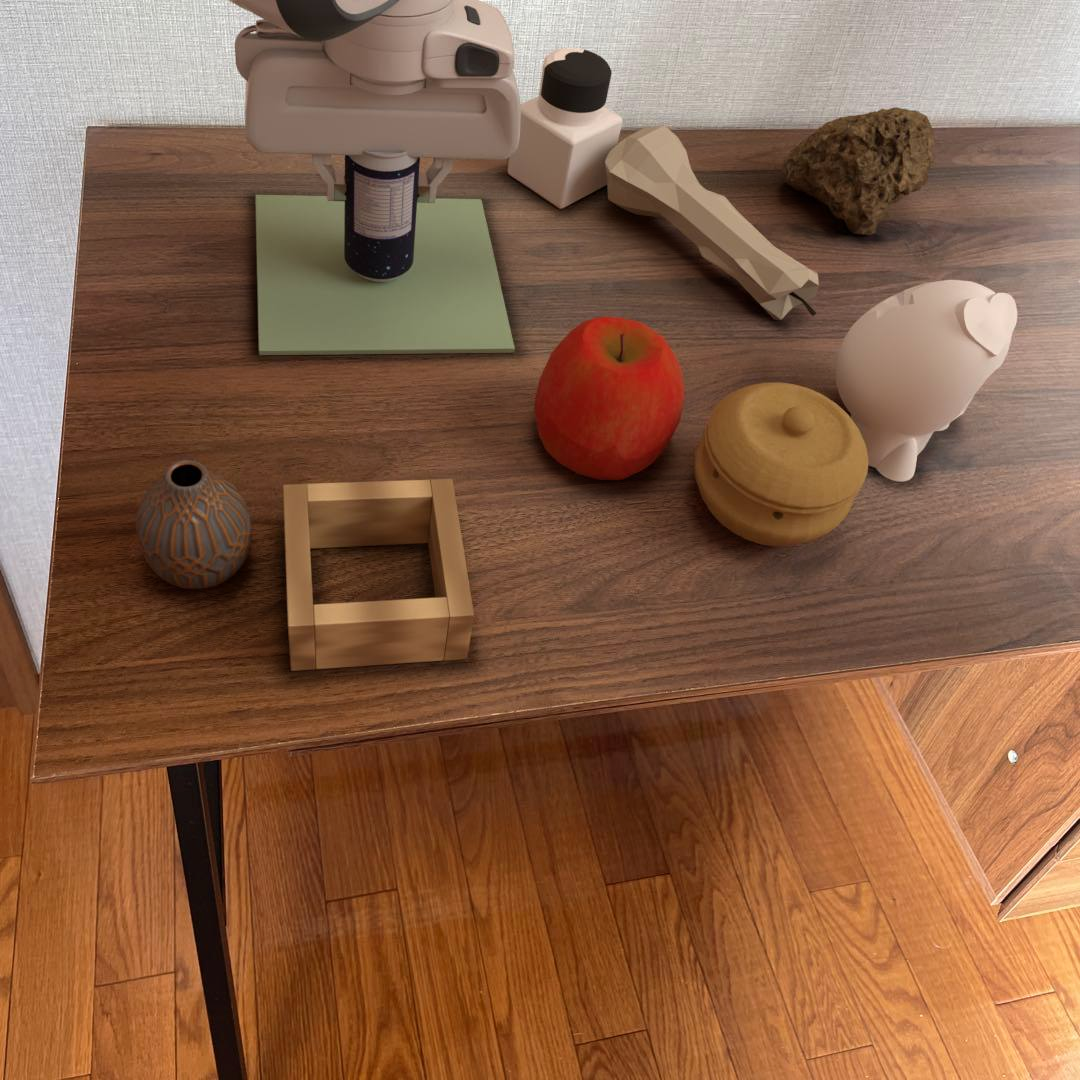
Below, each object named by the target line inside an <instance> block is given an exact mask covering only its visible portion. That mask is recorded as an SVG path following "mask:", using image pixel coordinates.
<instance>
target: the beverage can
mask: <svg viewBox="0 0 1080 1080" xmlns="http://www.w3.org/2000/svg"><path fill="white" fill-rule="evenodd" d="M407 153H408V152H407V151H405V152H402V153H390V152H369V151H366V150H363V154H362V155H359V156H357V155H344V171H345V180H346V183H347V192H346V196H347V199H346V201H345V222H344V258H345V261H346V263H347V264H348V266H349V267H350V268H351V269H352V270H354V271H355V272H356V273H358V274H359V275H360V276H361V277H363V278H365V279H367V280H370V281H375V282H387V281H391V280H394V279H396V278H398V277H399V276H401V275H402V274H404V273H406V272H407V271H408V270H409V269H410V268H411V266H412V264H413V258H414V242H415V227H416V212H417V195H418V193H417V191H418V181H419V173H420V165H421V164H420V163H421V157H409V156H407Z"/></svg>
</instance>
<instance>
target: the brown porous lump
mask: <svg viewBox="0 0 1080 1080" xmlns="http://www.w3.org/2000/svg"><path fill="white" fill-rule="evenodd" d="M934 134H935V133H934V129H933V127H932V125H931V122H930V120H929V118H928V116H927V115H926V114H924V113H921V112H920V111H919V110H911V109H908V108H901V107H891V108H889V109H886V108H880V109H879V110H878V111H874V110H873V111H871V112H868V113H863V114H855V115H846V116H840V117H838V118H835V119H833V120H831V121H827V122H825V123H824V124H823V125H822V126H820V127H819V128H817V130H816V131H815V132H813V133H812V134H810V135H809V136H807V138H805V139H803V140H802V141H800V143H799V144H798V145H797V146H795V147H793V148H792V149H791V150H790V152H789V153H788V155H787V156H786V157H785V158H784V160H783V162H782V164H781V167H782V169H781V173H782V174H783V176H784V179H785V183H786V184H787V185H789V186H790V187H792V188H793V189H794V190H796V191H797V192H798V191H800V192H803V193H804V192H805V193H806V194H807V195H808V196H811V197H812V198H815V199H817V200H818V201H819V202H821V203H822V204H824V205H826V206H828V208H829V210H830V212H831V214H832V215H833V216H834V217H836V219H838V220H839V219H840V220H843V221H844V222H845V224H846V227H847V230H848V231H850V232H851V233H852V234H854V235H863V236H872V235H874V234H875V233H876V230H877V226H878V223H882V221H884V220H885V219H886V218H888V215H889V212H890V210H891V206H892V204H896V203H899V202H900V201H902V200H903V199H904V198H905V196H909V194H911V193H914V192H917V191H919V190H921V189H922V188H923V187H924V186H925V184H927V182H928V180H929V175H928V174H927V173H928V171H930V169H931V168H932V167H933V166H934V164H935V160H934V157H933V154H932V148H933V147H934V145H935V140H934Z"/></svg>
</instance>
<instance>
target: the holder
mask: <svg viewBox="0 0 1080 1080" xmlns="http://www.w3.org/2000/svg"><path fill="white" fill-rule="evenodd" d="M282 501H283V502H282V503H283V528H284V532H283V533H284V551H285V552H284V554H285V555H284V557H285V577H286V578H285V583H286V585H285V586H286V608H287V609H286V611H287V631H288V632H287V633H288V635H287V636H288V649H289V663H290V671H292V672H297V671H298V672H299V671H310V670H324V669H325V670H326V669H337V668H352V667H367V666H368V667H369V666H383V665H395V664H396V665H397V664H410V663H411V664H412V663H425V662H427V663H428V662H438V661H439V662H441V661H444V662H445V661H458V660H467V659H468V656H469V655H468V654H469V649H470V643H471V636H472V629H473V624H474V620H475V619H474V618H475V611H474V606H473V605H474V604H473V599H472V593H471V586H470V581H469V574H468V567H467V561H466V554H465V548H464V543H463V536H462V529H461V523H460V518H459V511H458V504H457V497H456V492H455V485H454V479H453V478H431V479H409V480H407V479H406V480H405V479H404V480H382V481H381V480H379V481H378V480H377V481H351V482H350V481H347V482H319V483H317V482H316V483H292V484H291V483H289V484H283V485H282ZM415 544H416V545H419V544H427V547H428V554H429V563H430V568H431V569H430V570H431V576H432V583H433V590H434V597H422V598H405V599H389V600H388V599H387V600H372V601H371V600H370V601H354V602H353V601H352V602H336V603H334V602H333V603H318V604H317V603H316V604H314V595H313V578H312V576H313V575H312V562H311V561H312V560H311V549H328V548H332V549H333V548H351V547H370V546H371V547H373V546H395V545H396V546H397V545H415Z"/></svg>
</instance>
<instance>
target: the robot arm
mask: <svg viewBox="0 0 1080 1080" xmlns="http://www.w3.org/2000/svg"><path fill="white" fill-rule="evenodd" d="M227 1H228V2H230V3H232V4H234V5H235V6H238V7H240V8H242V9H243V10H245V11H247V12H250V13H252V14H254V15H255V16H257V17H259V18H261V19H256V20H255V24H251V25H248V26H245V27H244V28H242V30H240V31H239V32H238V34H237V35H236V37H235V41H234V56H235V57H234V58H235V59H234V60H235V66H236V69H237V71H238V73H239V75H240V77H242V78H243V79H244V80H245V92H244V93H245V94H244V95H245V97H244V128H245V130H244V131H245V139H246V141H247V143H249V145H250V146H251V147H252V148H253V149H254V150H255V151H256V152H258V153H262V154H295V155H296V154H297V155H311V159H312V166H313V167H314V169H315V170H316V171H317V173H318V174H319V176H320V177H321V179H322V180H323V182H324V183H325V184H326V196H327V200H328V201H346V199H347V196H346V192H347V183H346V180H345V170H337V169H335V167H334V166H333V165H332V156H345V155H357V156H359V155H362V154H363V150H366V151H369V152H390V153H402V152H405V151H407V152H408V153H407V156H409V157H420V158H423V159H424V158H427V159H433V161H432V162H431V164H430V166H429V167H428V168H427V170H426V171H425V172H419V181H418V191H417V193H418V195H417V203H435V199H436V198H437V187H439V186H440V185H441V183H442V182H443V181H444V180H445V178H446V177H447V176H448V175H449V174H450V172H451V171H452V170H453V167H454V166H453V164H454V163H453V162H454V159H458V160H459V159H460V160H488V161H489V160H490V161H491V160H492V161H506V160H509V157H510V156H511V155H512V154H513V153H514V152H515V151H516V150H517V149H518V145H519V138H520V123H521V110H520V104H521V95H520V92H519V88H518V83H517V80H516V76H515V74H514V66H515V48H514V47H515V46H514V42H513V41H514V40H513V37H512V34H511V31H510V28H509V26H508V23H507V21H506V18H505V17H504V15H503V13H502V11H501V10H500V9H498V7H495V6H494V5H491V4H488V3H486V2H483V1H482V0H227ZM254 32H255V33H254Z"/></svg>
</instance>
